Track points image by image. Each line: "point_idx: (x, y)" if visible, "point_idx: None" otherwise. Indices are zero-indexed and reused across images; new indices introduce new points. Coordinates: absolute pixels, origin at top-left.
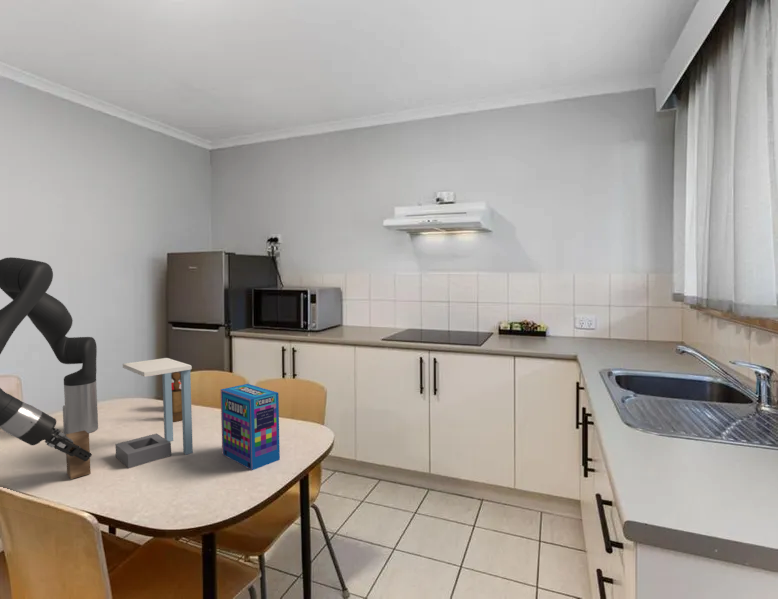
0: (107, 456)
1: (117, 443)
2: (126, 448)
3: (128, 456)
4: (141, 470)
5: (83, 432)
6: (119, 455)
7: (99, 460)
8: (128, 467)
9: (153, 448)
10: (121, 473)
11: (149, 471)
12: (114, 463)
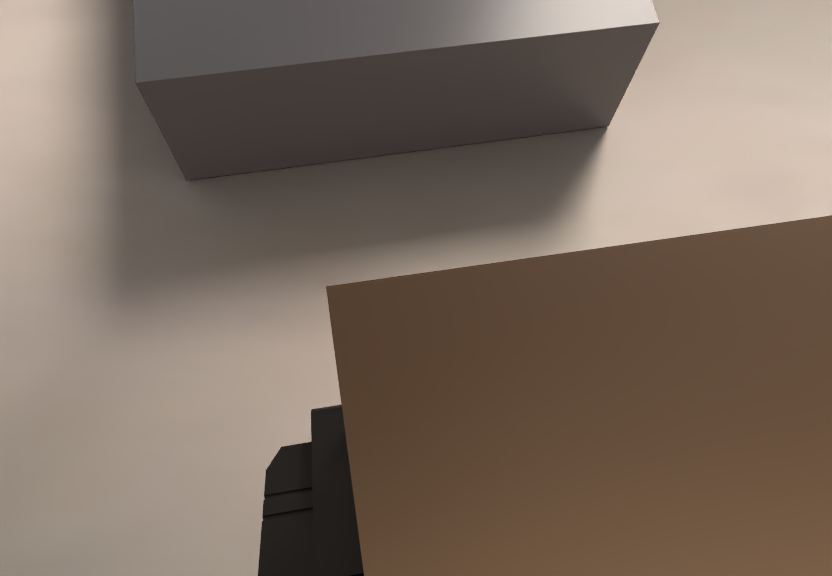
0: (89, 247)
1: (140, 61)
2: (428, 8)
3: (648, 37)
4: (726, 52)
5: (570, 336)
6: (319, 130)
7: (155, 328)
8: (609, 120)
9: None
10: (704, 189)
11: (786, 9)
12: (375, 211)
